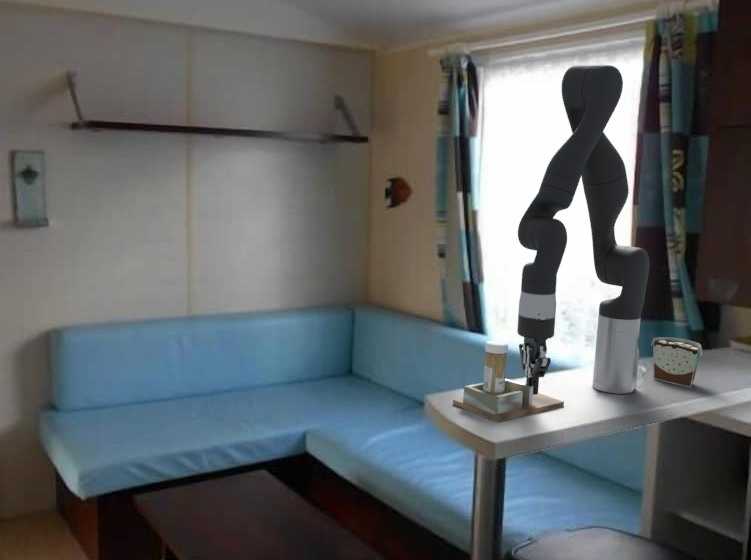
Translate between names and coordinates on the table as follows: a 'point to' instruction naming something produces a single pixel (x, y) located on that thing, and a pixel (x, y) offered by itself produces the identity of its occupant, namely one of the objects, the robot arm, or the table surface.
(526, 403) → the bar
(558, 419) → the table surface
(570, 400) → the table surface
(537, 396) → the cradle board
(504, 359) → the tan spice jar
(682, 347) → the food container
